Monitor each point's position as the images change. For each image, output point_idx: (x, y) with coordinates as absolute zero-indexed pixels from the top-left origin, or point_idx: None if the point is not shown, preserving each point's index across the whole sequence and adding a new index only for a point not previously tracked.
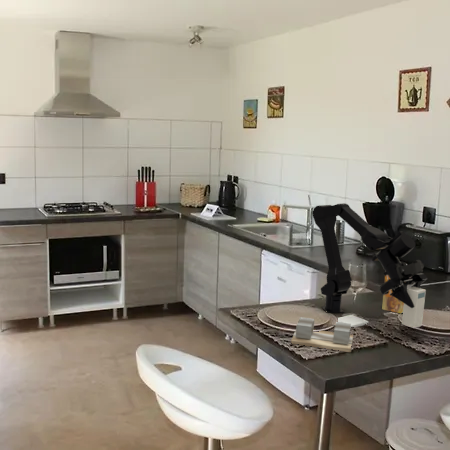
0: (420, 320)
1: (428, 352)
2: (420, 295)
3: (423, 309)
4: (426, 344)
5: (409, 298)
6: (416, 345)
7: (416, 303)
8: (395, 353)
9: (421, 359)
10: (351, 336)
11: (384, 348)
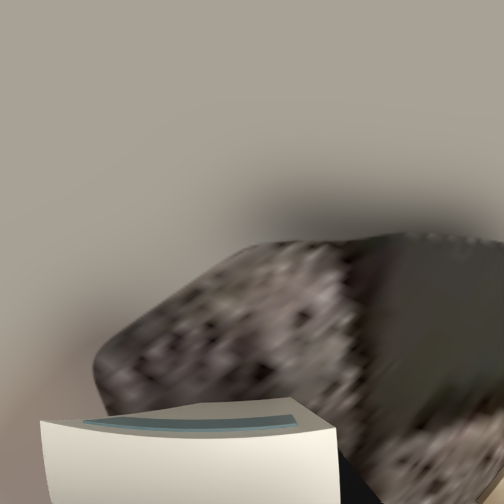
0: (215, 404)
1: (323, 270)
2: (223, 422)
3: (168, 409)
4: (248, 340)
5: (358, 491)
6: (305, 353)
7: (304, 409)
8: (455, 318)
9: (403, 235)
10: (498, 488)
11: (459, 376)
